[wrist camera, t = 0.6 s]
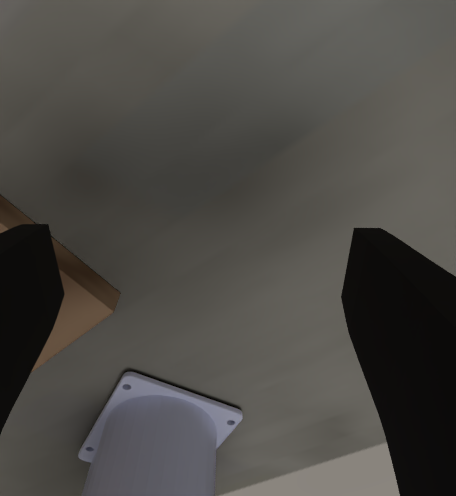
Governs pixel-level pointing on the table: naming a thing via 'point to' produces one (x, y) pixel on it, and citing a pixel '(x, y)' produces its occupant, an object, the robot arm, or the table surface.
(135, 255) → the table surface
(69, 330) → the walnut board
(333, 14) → the table surface
